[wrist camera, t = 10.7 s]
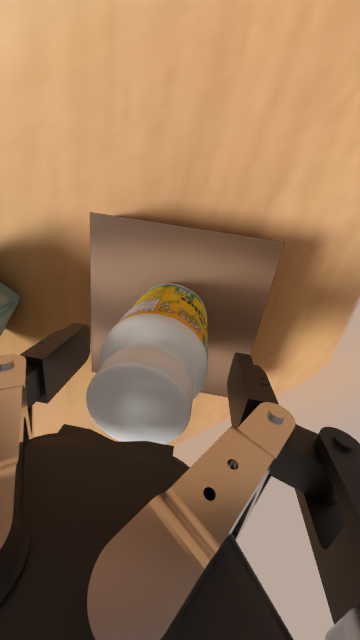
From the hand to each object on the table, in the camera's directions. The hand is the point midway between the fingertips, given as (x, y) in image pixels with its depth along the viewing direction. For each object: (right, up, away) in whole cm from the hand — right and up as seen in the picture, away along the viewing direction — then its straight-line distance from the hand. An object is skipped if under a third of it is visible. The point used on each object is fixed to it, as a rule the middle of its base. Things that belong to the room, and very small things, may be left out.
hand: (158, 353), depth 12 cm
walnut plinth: (+1, +3, +9) cm, 9 cm away
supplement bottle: (+1, +2, +5) cm, 6 cm away
